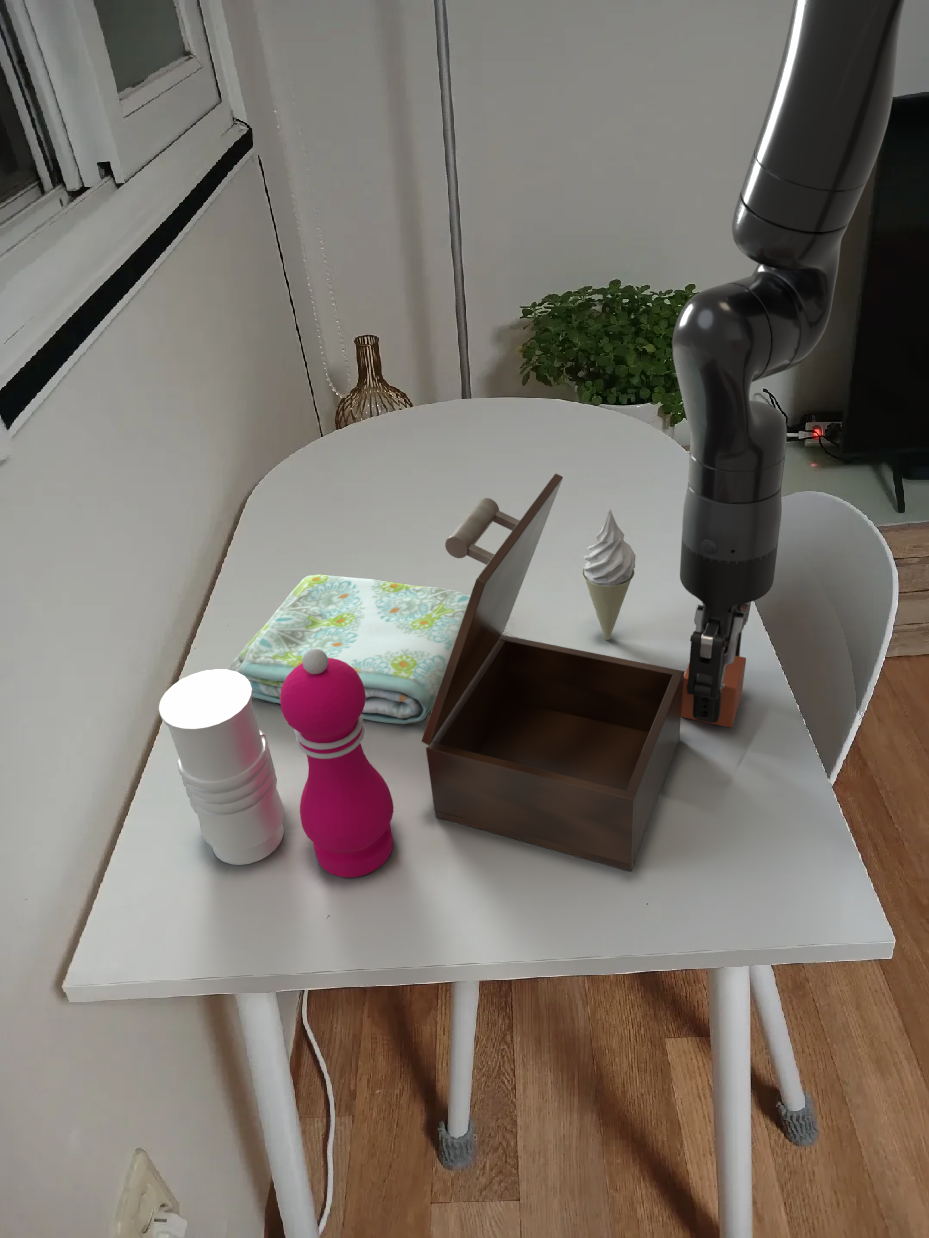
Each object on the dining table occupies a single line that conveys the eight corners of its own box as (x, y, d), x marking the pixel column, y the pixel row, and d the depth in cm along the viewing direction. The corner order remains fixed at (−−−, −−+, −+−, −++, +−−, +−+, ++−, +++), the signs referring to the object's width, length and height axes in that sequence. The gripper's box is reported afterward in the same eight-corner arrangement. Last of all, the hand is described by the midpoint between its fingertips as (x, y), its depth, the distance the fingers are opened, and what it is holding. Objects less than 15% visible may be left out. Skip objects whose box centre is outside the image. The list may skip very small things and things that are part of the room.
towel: (314, 597, 107) (306, 559, 104) (493, 623, 100) (490, 583, 97) (229, 699, 93) (217, 658, 90) (430, 738, 87) (425, 695, 84)
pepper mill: (411, 821, 79) (380, 625, 67) (381, 891, 73) (342, 691, 61) (330, 808, 81) (287, 615, 69) (295, 874, 75) (241, 678, 63)
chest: (679, 739, 84) (684, 670, 79) (630, 871, 73) (633, 800, 68) (505, 700, 90) (500, 634, 86) (434, 816, 79) (425, 747, 74)
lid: (563, 476, 74) (509, 451, 74) (485, 583, 62) (422, 552, 63) (503, 632, 85) (457, 609, 86) (428, 746, 74) (376, 718, 75)
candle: (306, 833, 78) (271, 694, 70) (235, 883, 75) (188, 743, 66) (260, 792, 83) (221, 656, 74) (190, 838, 79) (140, 700, 70)
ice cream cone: (620, 659, 94) (623, 527, 85) (573, 645, 96) (572, 515, 87) (640, 631, 97) (645, 502, 88) (595, 619, 100) (595, 491, 91)
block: (741, 696, 88) (746, 657, 85) (731, 728, 85) (736, 688, 82) (691, 686, 90) (694, 647, 87) (680, 717, 86) (683, 677, 84)
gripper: (762, 587, 70) (743, 750, 79) (792, 497, 80) (772, 651, 90) (661, 571, 73) (654, 730, 82) (702, 487, 83) (692, 636, 92)
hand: (716, 688), depth 86 cm, fingers open, 8 cm apart
